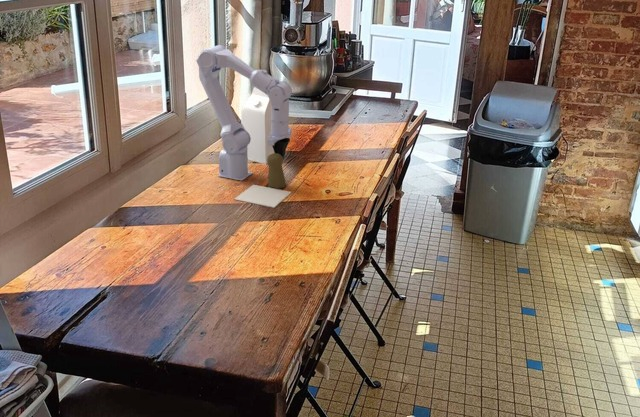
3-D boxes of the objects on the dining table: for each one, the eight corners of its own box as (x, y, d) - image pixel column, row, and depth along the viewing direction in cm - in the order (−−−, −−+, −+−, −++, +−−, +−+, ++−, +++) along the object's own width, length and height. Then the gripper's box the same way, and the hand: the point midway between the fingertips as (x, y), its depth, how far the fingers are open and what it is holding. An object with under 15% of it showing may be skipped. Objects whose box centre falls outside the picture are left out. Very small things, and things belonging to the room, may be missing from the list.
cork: (283, 189, 204) (281, 160, 198) (265, 188, 205) (263, 158, 199) (287, 180, 209) (286, 151, 203) (270, 179, 210) (268, 150, 204)
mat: (234, 199, 196) (234, 198, 195) (253, 185, 207) (253, 184, 206) (274, 207, 191) (274, 207, 191) (291, 192, 202) (291, 191, 202)
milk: (284, 155, 234) (284, 87, 223) (265, 164, 225) (265, 94, 214) (258, 149, 240) (258, 82, 229) (239, 157, 231) (238, 88, 220)
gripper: (281, 128, 193) (281, 168, 198) (300, 116, 205) (299, 154, 211) (261, 124, 195) (261, 165, 200) (280, 113, 207) (280, 151, 213)
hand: (279, 159), depth 206 cm, fingers closed
